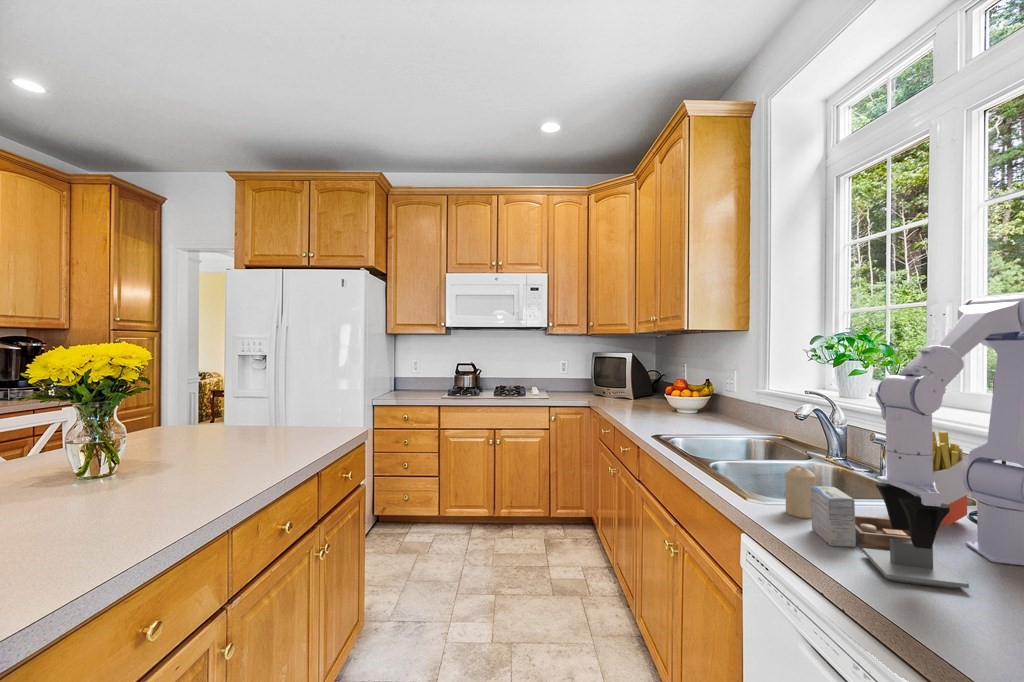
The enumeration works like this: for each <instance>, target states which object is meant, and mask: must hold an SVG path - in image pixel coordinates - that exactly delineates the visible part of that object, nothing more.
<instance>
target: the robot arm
mask: <svg viewBox="0 0 1024 682" xmlns="http://www.w3.org/2000/svg"><path fill="white" fill-rule="evenodd" d="M979 344H981V345H983V346H985V347H988V348H991V349H993V351H994V352H995V353H996V356H997V357H996V364H995V372H994V373H995V375H994V383H993V390H992V398H991V406H990V416H989V425H988V431H987V433H988V434H987V440H986V442H985V443H984V444H981V445H979V446H977V447H975V448H973V449H971V450H969V452H968V453H969V455H968V457H967V462H966V464H965V465H964V469H963V472H962V480H963V483H964V485H965V487H966V491H968V492H969V493H971V498H972V499H975V500H976V510H977V511H976V514H977V515H976V516H977V518H976V521H977V541H965V545H967V546H968V547H969V548H971V549H972V550H974V551H975V552H977V553H978V554H980V555H981V556H983V557H984V558H985V559H987V560H988V561H990V562H992V563H997V564H1007V565H1015V566H1016V565H1018V566H1024V294H1023V295H1022V294H1020V295H1008V296H998V297H985V298H976V297H974V298H969V299H967V300H966V301H964V302H963V303H962V306H960V307H959V308H958V309H957V322H956V323H955V325H954V326H953V327H952V328H951V329H950V331H948V333H947V334H946V335H945V337H944V338H943V339H942V341H940V343H939V344H934V345H933V344H932V345H927V346H923V347H922V348H921V349H920V350H919V353H918V354H917V355H916V356H915V357H914V358H913V359H912V360H911V361H910V362H909V363H908V364H907V365H906V366H905V367H904V368H903V369H902V370H901V371H899V373H897V374H892V375H888V376H886V377H885V378H884V379H882V380H881V381H880V382H879V384H878V386H877V390H876V391H875V392H874V393H875V395H874V396H875V400H876V402H877V404H878V405H879V408H880V410H881V411H880V412H881V418H882V419H883V420H884V421H885V442H886V443H885V449H886V450H885V452H886V454H885V456H886V457H885V458H886V467H884V468H883V475H882V476H881V475H880V476H877V481H878V482H876V483H875V486H876V489H877V490H878V491H879V493H880V495H881V497H882V499H883V502H884V505H885V507H886V511H887V514H888V515H887V516H888V519H890V523H891V526H892V528H893V529H899V530H910V536H911V541H912V544H913V546H914V547H916V548H925V549H932V546H934V543H935V539H936V536H937V533H938V531H939V527H940V525H941V524H940V523H941V522H942V520H943V519H944V517H945V516H946V515H947V514H948V513H949V511H950V507H949V506H947V505H946V504H942V503H941V494H940V493H939V492H938V491H937V489H936V485H935V482H934V481H933V439H932V431H933V413H935V412H936V411H938V410H940V408H941V406H942V403H943V400H944V399H943V397H944V395H945V394H946V391H947V389H946V387H947V386H948V385H949V384H950V383H951V382H952V381H953V380H954V379H955V378H956V377H957V375H959V374H960V372H961V371H962V370H963V369H964V367H965V363H964V362H965V361H964V360H963V358H964V357H965V356H966V355H968V354H969V353H970V352H971V351H972V350H974V349H975V347H977V346H978V345H979ZM996 461H1003V462H1007V463H1014V464H1016V465H1020V466H1016V465H1010V464H1004V463H1000V462H996ZM1021 466H1022V467H1021Z"/></svg>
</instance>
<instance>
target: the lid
mask: <svg viewBox="0 0 1024 682" xmlns="http://www.w3.org/2000/svg"><path fill="white" fill-rule="evenodd" d="M933 546H934V545H933ZM933 546H932V549H925V548H916V547H914V546H913V544H912V541H910V540H900V539H890V550H883V549H874V548H864V547H861V548H862V549H861V551H862V553H863V554H864V555H865V557H866V558H867V559H868V560H869V561H871V563H872V564H873V565H874V566H875V568H877V570H879V572H880V573H881V575H883V576H884V577H885V579H888V580H890V581H891V582H899V583H905V584H906V583H907V584H913V585H914V584H915V585H923V586H931V587H939V588H946V589H947V588H948V589H958V588H962V589H963V588H964V589H970V583H968V582H967V581H966V580H964V579H963V578H962V577H961V576H960V575H958V574H957V573H956V572H955V571H954V570H952V569H951V568H950V567H949V566H947V565H946V564H945V563H944V562H942V561H941V560H940V559H939V558H938V557H936V556H935V555H934V547H933Z"/></svg>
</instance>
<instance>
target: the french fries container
mask: <svg viewBox="0 0 1024 682" xmlns="http://www.w3.org/2000/svg"><path fill="white" fill-rule="evenodd" d="M937 432H938V440H939V443H938V441H937V437H936V431H934V430H932V439H933V481H934V482H935V485H936V489H937V491H938V492H939V493H940V494H941V503H942V504H946V505H947V506H949V507H950V511H949V513H948V514H947V515H946V516H945V517H944V519H943V520H942V522H941V523H940V525H946V526H950V525H952V524H954V523H956V522H958V521H959V520H960V519H963V518H965V517H966V516H968V494H967V493H968V492H967V491H968V490H967V489H966V487H965V485H964V483H963V480H962V472H963V469H964V467H965V465H964V460H963V459H964V458H963V453H964V452H963V449H962V448H961V447H960V445H959V444H958V443H955V442H950V441H949V432H948V431H937Z"/></svg>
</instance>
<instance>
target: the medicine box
mask: <svg viewBox="0 0 1024 682" xmlns="http://www.w3.org/2000/svg"><path fill="white" fill-rule="evenodd" d="M855 505H856V504H855V499H854V498H853V497H851V496H850V495H848V494H846V493H845V492H843V491H842V490H840V489H839V488H836V487H835V486H825V485H824V486H819V485H818V486H817V485H815V487H811V507H812V518H811V530H812V531H813V532H814V533H816V534H817V535H818V536H819V537H820V538H821V539H822V540H823V541H824V542H826V544H828V545H829V546H830V547H831V546H833V547H846V548H855V547H857V543H856V534H855V516H856V511H855V510H856V506H855Z"/></svg>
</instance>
